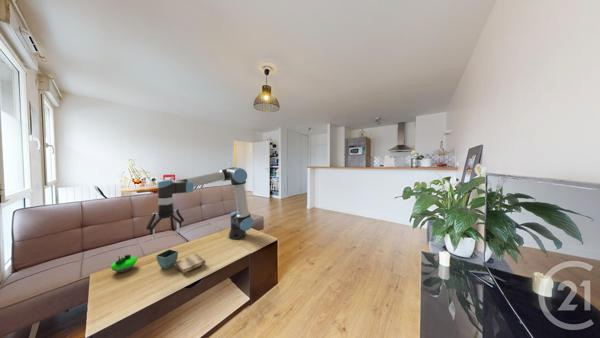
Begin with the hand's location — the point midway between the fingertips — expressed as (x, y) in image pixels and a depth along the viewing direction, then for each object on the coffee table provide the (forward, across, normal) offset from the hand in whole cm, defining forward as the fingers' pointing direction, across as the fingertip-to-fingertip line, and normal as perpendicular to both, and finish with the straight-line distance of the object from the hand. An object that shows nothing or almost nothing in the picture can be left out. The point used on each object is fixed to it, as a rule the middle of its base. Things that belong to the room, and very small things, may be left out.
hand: (166, 235), depth 118 cm
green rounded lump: (+21, +18, -17) cm, 32 cm away
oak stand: (+21, -9, +13) cm, 26 cm away
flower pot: (+21, 0, 0) cm, 21 cm away
